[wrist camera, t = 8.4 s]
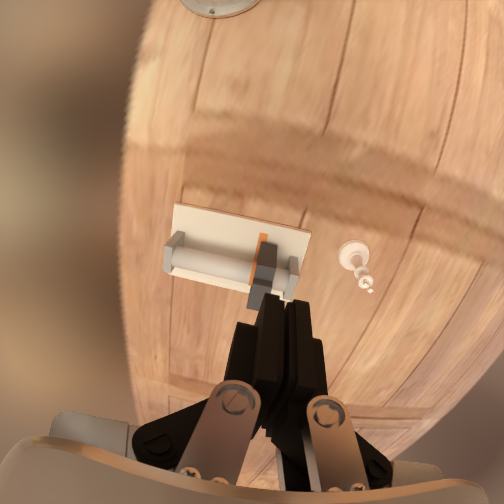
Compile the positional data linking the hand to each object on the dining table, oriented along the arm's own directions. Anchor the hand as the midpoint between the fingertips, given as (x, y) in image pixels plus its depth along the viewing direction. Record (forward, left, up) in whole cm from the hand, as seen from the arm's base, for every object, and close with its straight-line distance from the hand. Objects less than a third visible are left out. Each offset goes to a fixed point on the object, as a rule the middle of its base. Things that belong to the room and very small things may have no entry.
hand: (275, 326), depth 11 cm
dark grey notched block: (+13, +1, -29) cm, 32 cm away
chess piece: (+9, +13, -31) cm, 35 cm away
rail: (+13, -4, -31) cm, 34 cm away
